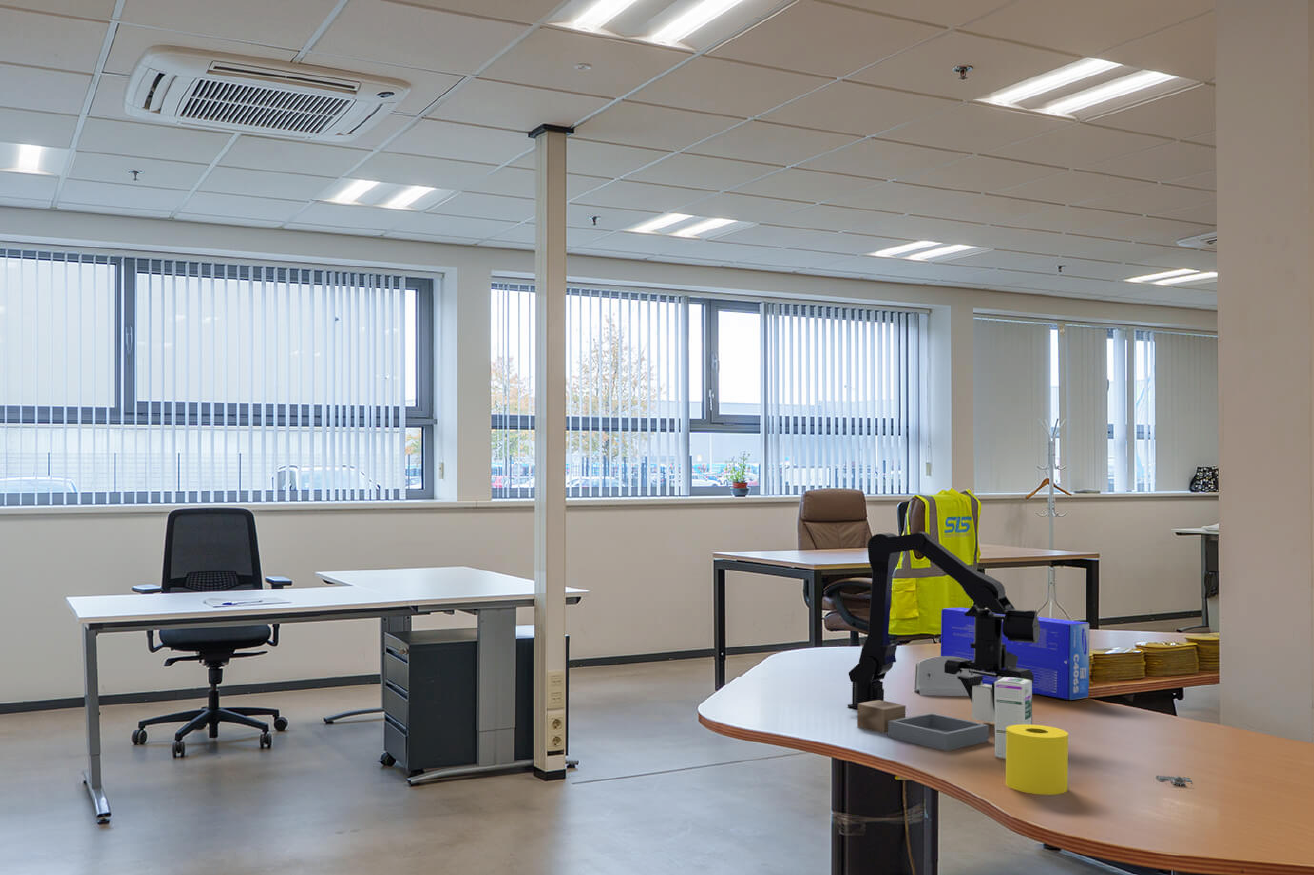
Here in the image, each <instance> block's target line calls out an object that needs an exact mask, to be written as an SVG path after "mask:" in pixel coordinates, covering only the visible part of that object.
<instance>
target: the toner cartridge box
mask: <svg viewBox="0 0 1314 875" xmlns="http://www.w3.org/2000/svg"><path fill="white" fill-rule="evenodd" d="M968 610H970V608H967V607H966V608H965V607H949V608H946V607H945V608H942V609H941V613H940V615H941V617H940V618H941V620H940V621H941V622H940V626H941V627H940V656H955V657H961V658H965V659H969V660H972V661H974V648H971V643H974V625H975V617H970V616H965V613H966V612H967V611H968ZM994 614H995V613H994ZM996 615H1001V614H996ZM1004 615H1005V614H1004ZM1037 617H1038V620H1039V625H1040V636H1039V640H1038V642H1037V643H1027V642H1016V641H1009V640H1008V638H1007V637H1005V636H1004V635H1003V629H1002V643H1003V644H1005V646H1006V651H1007V652H1010V653H1012V654H1014V655H1016V656H1018V661H1017V665H1016V668H1022V669H1028V670H1031V672H1032V674H1033V683H1032V694H1034V695H1041V696H1047V697H1052V698H1058V699H1062V700H1067V701H1073V700H1074V701H1075V700H1080V699H1085V698H1088V697H1089V692H1090V691H1089V690H1090V623H1089V622H1084V621H1079V620H1078V621H1077V620H1069V619H1060V618H1052V617H1044V616H1043V617H1042V616H1037ZM1002 627H1003V619H1002ZM1004 669H1005V668H1004ZM1004 669H1003V670H1004ZM993 673H995V672H993ZM981 676H984V677H983V679H982V684H989V685H992V683H994V682H995V681H998V678H997V677H991V676H986V675H981Z"/></svg>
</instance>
